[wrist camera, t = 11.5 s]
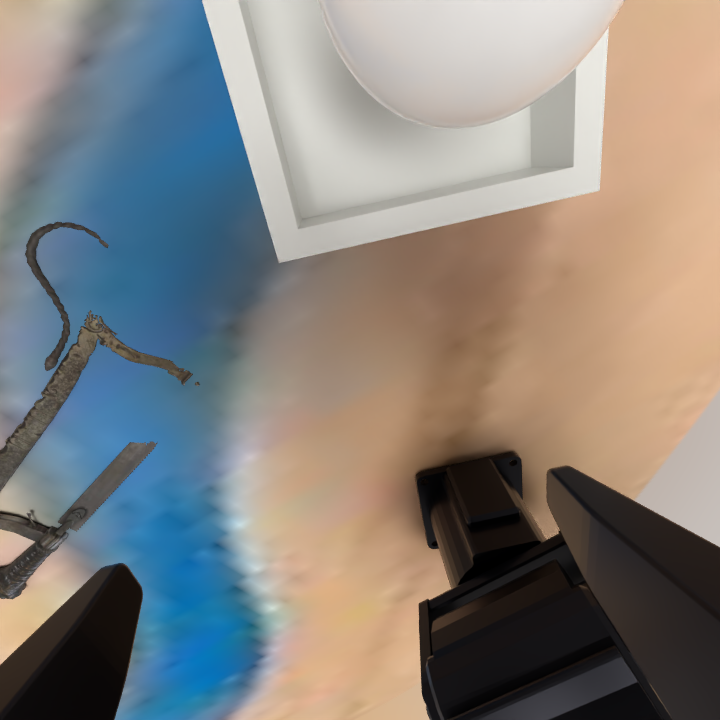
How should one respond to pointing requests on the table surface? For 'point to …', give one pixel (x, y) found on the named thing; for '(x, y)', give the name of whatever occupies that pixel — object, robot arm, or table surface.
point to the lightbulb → (463, 52)
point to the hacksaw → (57, 390)
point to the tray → (385, 139)
